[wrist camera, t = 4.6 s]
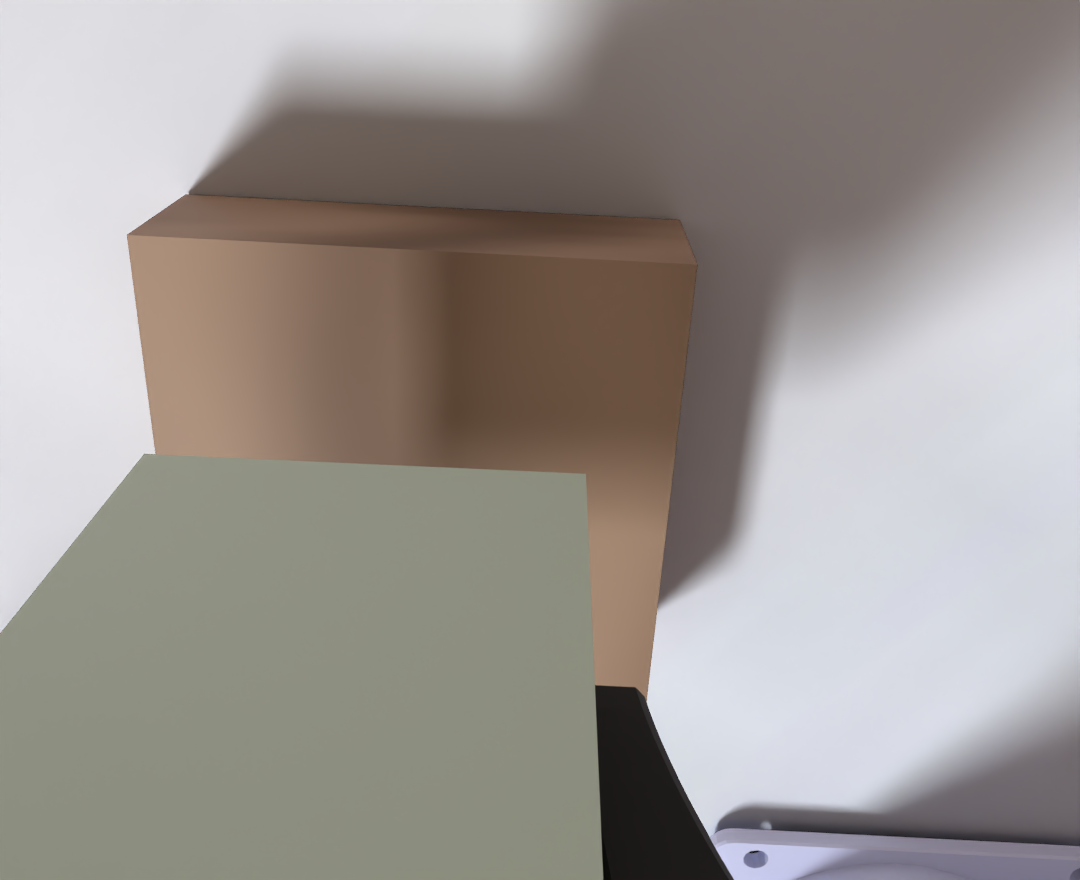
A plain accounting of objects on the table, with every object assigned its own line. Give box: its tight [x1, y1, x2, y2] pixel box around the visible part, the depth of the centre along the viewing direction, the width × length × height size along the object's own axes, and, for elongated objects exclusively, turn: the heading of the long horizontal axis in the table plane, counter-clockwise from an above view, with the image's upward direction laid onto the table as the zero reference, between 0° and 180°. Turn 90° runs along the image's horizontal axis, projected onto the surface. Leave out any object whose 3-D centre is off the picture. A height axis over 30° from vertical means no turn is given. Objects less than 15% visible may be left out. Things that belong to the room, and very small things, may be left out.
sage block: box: [0, 454, 603, 880], centre depth 10 cm, size 5×5×6 cm
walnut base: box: [127, 195, 697, 701], centre depth 17 cm, size 8×8×2 cm
